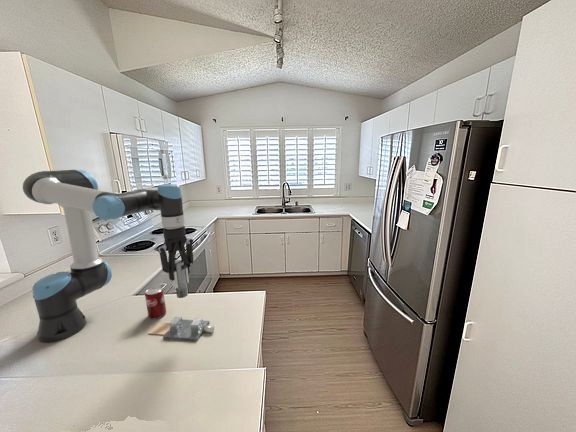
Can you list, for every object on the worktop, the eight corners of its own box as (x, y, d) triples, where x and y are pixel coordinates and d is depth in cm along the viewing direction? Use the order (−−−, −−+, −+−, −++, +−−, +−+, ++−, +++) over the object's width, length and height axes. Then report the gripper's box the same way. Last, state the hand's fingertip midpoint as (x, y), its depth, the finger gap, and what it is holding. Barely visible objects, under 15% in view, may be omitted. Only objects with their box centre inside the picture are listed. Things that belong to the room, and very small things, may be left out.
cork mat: (148, 334, 101) (148, 333, 101) (159, 323, 108) (159, 322, 108) (165, 335, 100) (164, 334, 100) (174, 324, 107) (174, 323, 107)
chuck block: (163, 338, 98) (161, 328, 97) (178, 321, 109) (177, 311, 108) (207, 341, 96) (206, 331, 95) (218, 323, 107) (217, 313, 106)
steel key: (172, 296, 99) (167, 262, 96) (180, 291, 102) (176, 258, 99) (184, 299, 96) (180, 265, 93) (192, 294, 100) (188, 261, 97)
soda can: (161, 308, 119) (158, 284, 116) (169, 313, 114) (166, 289, 112) (145, 315, 113) (141, 291, 111) (152, 321, 109) (148, 296, 106)
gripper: (156, 233, 84) (165, 297, 89) (199, 222, 98) (205, 278, 103) (145, 230, 88) (154, 291, 94) (188, 220, 102) (194, 274, 107)
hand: (180, 284), depth 98 cm, fingers closed on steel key, 4 cm apart
